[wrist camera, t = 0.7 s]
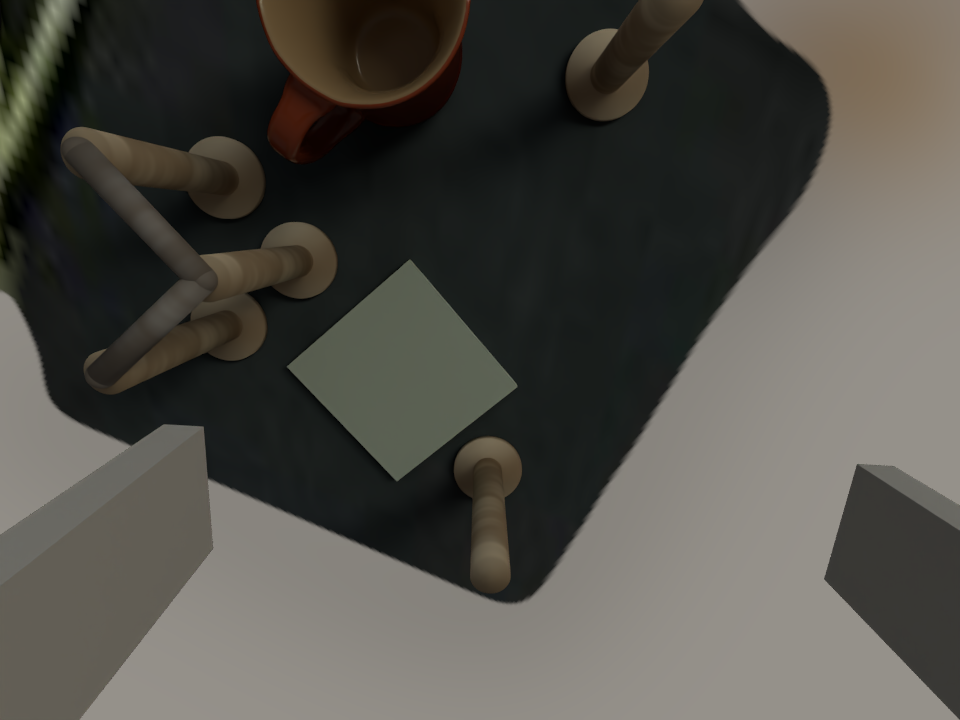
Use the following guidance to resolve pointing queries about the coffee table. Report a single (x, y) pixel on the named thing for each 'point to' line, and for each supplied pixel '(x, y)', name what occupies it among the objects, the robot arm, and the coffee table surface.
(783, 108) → the coffee table surface
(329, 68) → the mug
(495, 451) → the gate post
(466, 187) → the coffee table surface
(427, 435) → the pad
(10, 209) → the coffee table surface
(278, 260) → the light wood frame
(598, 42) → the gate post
